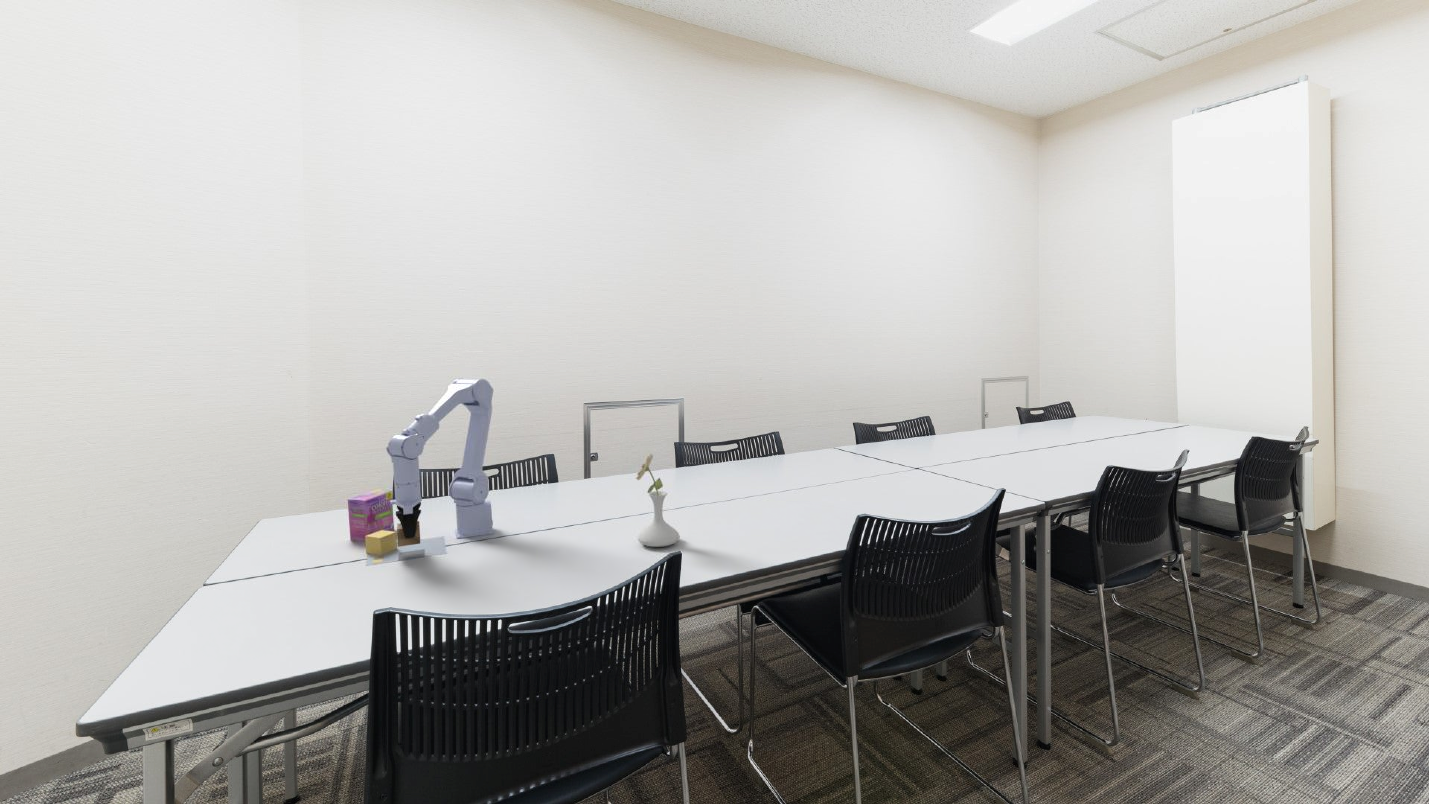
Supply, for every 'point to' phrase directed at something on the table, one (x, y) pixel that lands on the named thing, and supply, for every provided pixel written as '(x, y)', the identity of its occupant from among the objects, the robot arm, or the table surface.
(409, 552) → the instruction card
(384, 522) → the box
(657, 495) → the flower in vase
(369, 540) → the mustard block
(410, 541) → the walnut block
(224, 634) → the table surface
